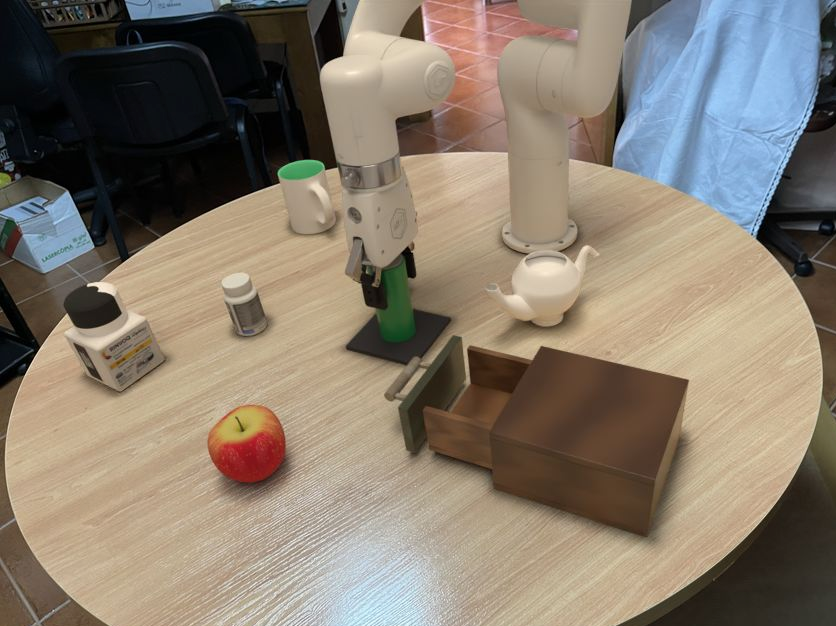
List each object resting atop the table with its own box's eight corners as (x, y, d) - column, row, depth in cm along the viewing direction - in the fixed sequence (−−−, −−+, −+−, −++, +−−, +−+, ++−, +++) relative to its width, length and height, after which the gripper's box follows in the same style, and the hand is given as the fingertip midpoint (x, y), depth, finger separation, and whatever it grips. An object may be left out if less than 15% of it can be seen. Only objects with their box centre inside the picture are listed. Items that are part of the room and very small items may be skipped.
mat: (386, 305, 104) (385, 302, 103) (451, 320, 100) (450, 317, 99) (346, 349, 96) (345, 345, 96) (414, 367, 92) (414, 363, 92)
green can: (392, 318, 100) (379, 246, 93) (422, 325, 98) (411, 252, 91) (374, 338, 97) (359, 265, 89) (404, 345, 95) (392, 272, 87)
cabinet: (493, 488, 75) (488, 432, 70) (541, 400, 85) (540, 345, 80) (647, 537, 69) (655, 479, 63) (679, 436, 79) (689, 379, 73)
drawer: (375, 440, 81) (365, 397, 77) (429, 369, 90) (422, 327, 86) (533, 490, 73) (531, 446, 69) (574, 407, 83) (575, 363, 78)
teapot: (620, 303, 100) (625, 248, 94) (511, 362, 91) (508, 305, 86) (575, 276, 106) (577, 223, 100) (470, 329, 98) (464, 273, 92)
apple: (227, 508, 76) (198, 446, 70) (217, 456, 82) (189, 395, 76) (300, 481, 78) (278, 418, 72) (285, 433, 84) (263, 371, 78)
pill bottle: (273, 320, 103) (258, 272, 98) (256, 339, 100) (240, 291, 95) (247, 315, 105) (230, 268, 99) (229, 334, 101) (211, 286, 96)
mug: (356, 228, 123) (345, 174, 117) (318, 246, 119) (305, 191, 113) (320, 208, 131) (308, 156, 124) (283, 224, 127) (269, 171, 120)
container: (120, 393, 93) (78, 315, 85) (86, 376, 96) (43, 300, 88) (166, 360, 98) (131, 283, 89) (132, 344, 101) (95, 270, 93)
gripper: (357, 205, 75) (382, 334, 86) (431, 142, 87) (445, 263, 98) (301, 196, 78) (333, 322, 89) (380, 136, 89) (399, 254, 101)
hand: (391, 290), depth 93 cm, fingers open, 7 cm apart
